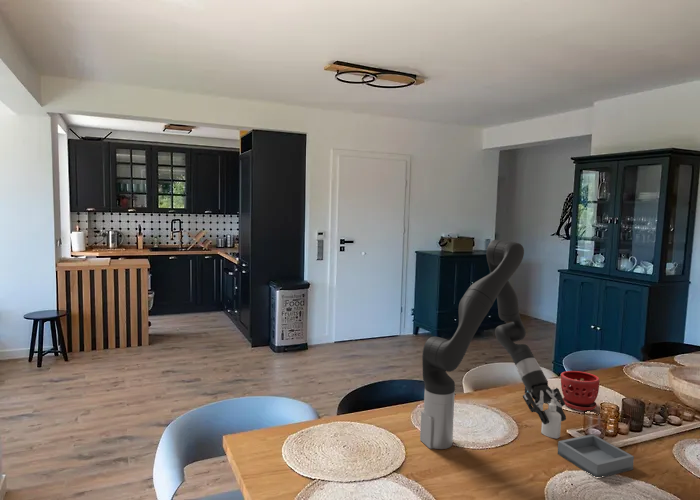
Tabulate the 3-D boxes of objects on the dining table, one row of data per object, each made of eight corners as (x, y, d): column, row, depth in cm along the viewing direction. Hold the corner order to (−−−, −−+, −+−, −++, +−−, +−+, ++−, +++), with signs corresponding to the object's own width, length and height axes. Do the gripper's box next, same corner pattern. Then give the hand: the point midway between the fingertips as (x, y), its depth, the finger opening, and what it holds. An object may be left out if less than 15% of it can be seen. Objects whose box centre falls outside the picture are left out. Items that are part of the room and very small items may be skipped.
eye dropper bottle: (549, 430, 158) (552, 396, 157) (562, 438, 153) (564, 402, 152) (539, 432, 157) (541, 397, 156) (551, 440, 152) (553, 404, 151)
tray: (596, 478, 130) (597, 465, 130) (557, 453, 143) (558, 441, 143) (632, 469, 135) (633, 456, 135) (591, 446, 148) (592, 434, 148)
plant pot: (599, 404, 181) (601, 373, 180) (595, 416, 170) (598, 384, 169) (562, 396, 188) (564, 367, 187) (556, 407, 177) (558, 376, 176)
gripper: (520, 371, 158) (544, 420, 148) (553, 367, 163) (579, 414, 153) (508, 381, 163) (531, 429, 153) (541, 376, 168) (565, 423, 158)
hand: (555, 421), depth 153 cm, fingers open, 6 cm apart
